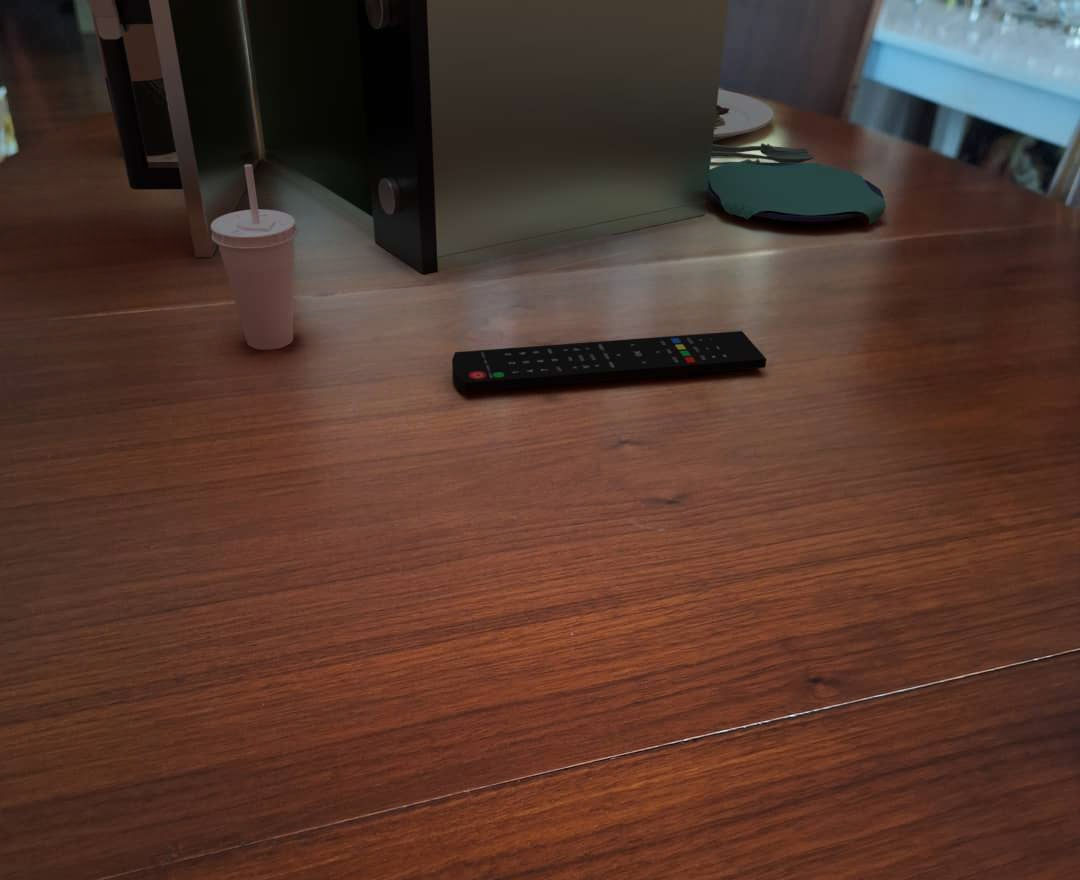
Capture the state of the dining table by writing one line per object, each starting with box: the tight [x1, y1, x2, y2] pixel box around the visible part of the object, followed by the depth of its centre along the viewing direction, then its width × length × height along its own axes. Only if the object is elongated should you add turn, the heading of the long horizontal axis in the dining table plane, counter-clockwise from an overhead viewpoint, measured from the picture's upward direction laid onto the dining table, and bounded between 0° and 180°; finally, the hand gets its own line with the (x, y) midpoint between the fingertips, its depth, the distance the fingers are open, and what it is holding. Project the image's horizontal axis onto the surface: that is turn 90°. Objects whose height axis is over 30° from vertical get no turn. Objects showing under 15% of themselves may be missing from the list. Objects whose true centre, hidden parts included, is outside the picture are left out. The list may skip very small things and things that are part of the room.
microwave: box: [240, 0, 729, 274], centre depth 111 cm, size 35×44×28 cm
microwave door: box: [94, 0, 261, 259], centre depth 104 cm, size 7×34×28 cm, turn 5°
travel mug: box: [90, 9, 176, 157], centre depth 124 cm, size 8×8×20 cm
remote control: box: [451, 330, 767, 393], centre depth 80 cm, size 5×24×1 cm, turn 102°
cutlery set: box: [707, 142, 887, 226], centre depth 119 cm, size 20×30×2 cm, turn 1°
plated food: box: [713, 89, 775, 141], centre depth 144 cm, size 30×30×3 cm
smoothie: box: [211, 164, 298, 351], centre depth 80 cm, size 6×6×14 cm
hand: (118, 34), depth 90 cm, fingers closed on microwave door, 2 cm apart
